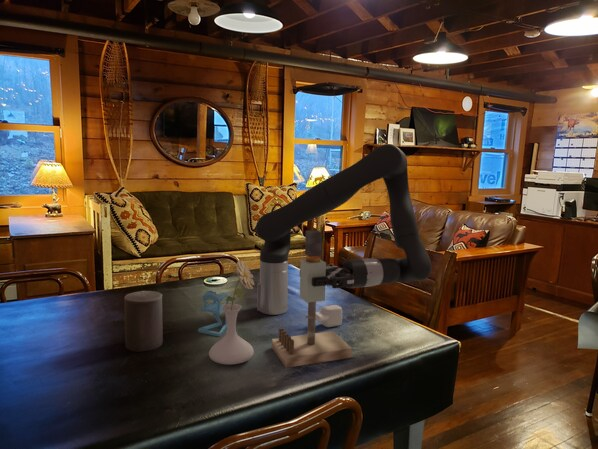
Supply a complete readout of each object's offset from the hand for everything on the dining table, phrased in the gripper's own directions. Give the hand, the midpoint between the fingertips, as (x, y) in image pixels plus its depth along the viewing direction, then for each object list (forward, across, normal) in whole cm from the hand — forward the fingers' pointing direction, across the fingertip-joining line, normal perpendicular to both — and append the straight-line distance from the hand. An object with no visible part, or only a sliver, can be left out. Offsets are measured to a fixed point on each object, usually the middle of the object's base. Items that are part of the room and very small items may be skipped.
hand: (305, 277), depth 114 cm
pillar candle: (+39, -19, +21) cm, 48 cm away
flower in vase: (+18, -4, +21) cm, 28 cm away
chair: (+19, -23, +21) cm, 36 cm away
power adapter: (-13, -16, +21) cm, 29 cm away
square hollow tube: (-2, 0, +6) cm, 6 cm away
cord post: (-2, 0, +21) cm, 21 cm away
